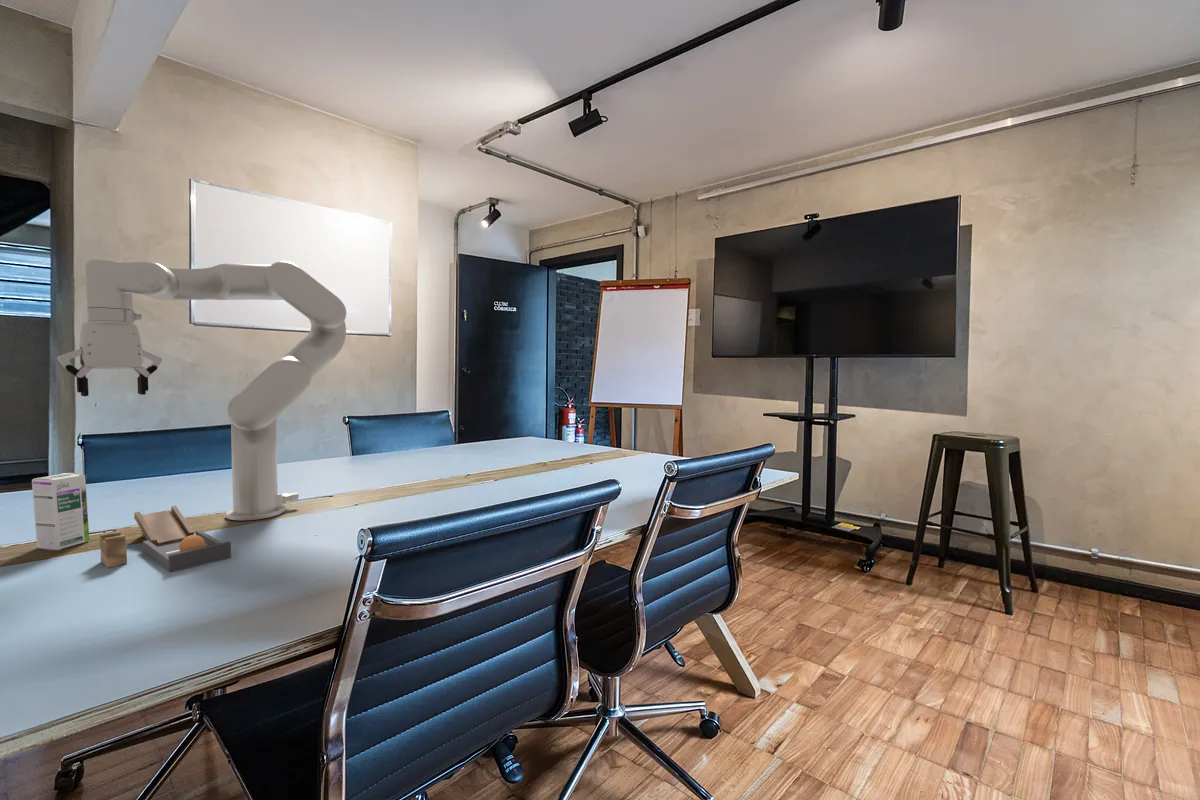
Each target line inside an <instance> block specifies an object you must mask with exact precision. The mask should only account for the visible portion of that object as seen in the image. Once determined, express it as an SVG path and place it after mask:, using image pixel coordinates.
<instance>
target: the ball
mask: <svg viewBox="0 0 1200 800" xmlns="http://www.w3.org/2000/svg"><path fill="white" fill-rule="evenodd" d="M201 547H205V541H204V539H203V538H202V537H200V536H198V535H196V534H194V535H190V536H188V537H186V538H184V539H183V540H182V541H181V543H180V547H179V548H180V551H181V552H183V551H188V550H192V549H197V548H201Z"/></svg>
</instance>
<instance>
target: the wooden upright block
mask: <svg viewBox="0 0 1200 800" xmlns="http://www.w3.org/2000/svg"><path fill="white" fill-rule="evenodd" d="M99 537H100V538H99V547H100V549H99V550H100V562H101V563H102V564H103V566H105V567H106V568H108V569H109V568H113V567H117V566H121V565H126V564H128V556H127V540H126V534H122V532H121V531H112V532H106V533H102V534H99Z"/></svg>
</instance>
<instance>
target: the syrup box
mask: <svg viewBox="0 0 1200 800" xmlns="http://www.w3.org/2000/svg"><path fill="white" fill-rule="evenodd" d="M86 483H87V482H86V474H83V473H80V472H79V473H76V472H67V473H66V472H63V473H59V474H53V475H49V476H42V477H36V478H33V479H31V486H32V487H31V488H32V500H33V512H34V524H35V525H34V526H35V537H36V538H35V540H36V548H38V549H43V550H50V551H60V550H63V549H67V548H71V547H74V546H77V545H80V544H84V543H87V542H88V543H89V542H90V529H89V517H88V497H87V484H86Z"/></svg>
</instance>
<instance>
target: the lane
mask: <svg viewBox="0 0 1200 800" xmlns="http://www.w3.org/2000/svg"><path fill="white" fill-rule="evenodd" d="M195 535H198V536H200V537H202V538H203V539H204V541H205V547H201V548H197V549H192V550H188V551H183V552H181V551H180V548H179V547H180V543H181V541H178V542H174V543H169V544H164V545H159V546H157V545H156V546H155V545H154V544H153V543H151V542H150V541H148V540H147V539H146V540H143V541H142V546H143V547H142V549H143V550H142V551H143V552H144V553H145V554H147V555H148V556H149V557H150V558H152V559H153V560H154V561H156V562H158V563H159V564H160V565H161V566H162V567H163V568H165V569H166V570H167V571H169V572H170V573H172V572H173V573H174V572H177V571H181V570H185V569H189V568H193V567H198V566H202V565H205V564H209V563H213V562H218V561H223V560H226V559H230V558H232V548H231V545H232V542H230V541H229V540H228V541H225V542H222V541H220V540H218V539H217V538H215V537H213V536H211V535H210V534H208V533H206V532H205V531H203V530H201V529H198V530H197V529H196V530H195Z"/></svg>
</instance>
